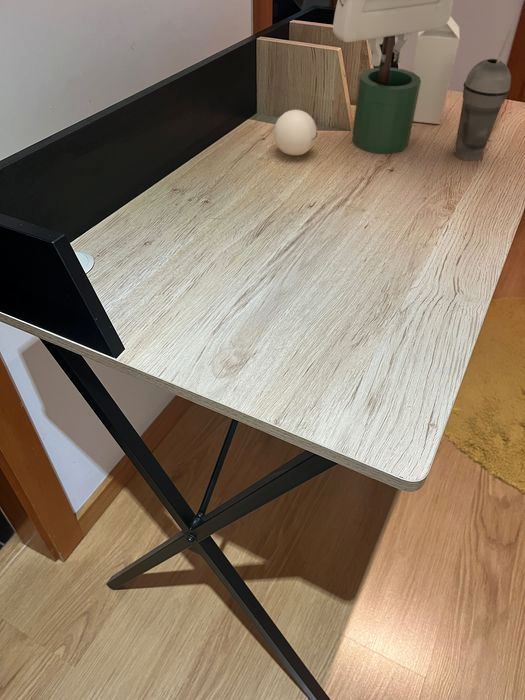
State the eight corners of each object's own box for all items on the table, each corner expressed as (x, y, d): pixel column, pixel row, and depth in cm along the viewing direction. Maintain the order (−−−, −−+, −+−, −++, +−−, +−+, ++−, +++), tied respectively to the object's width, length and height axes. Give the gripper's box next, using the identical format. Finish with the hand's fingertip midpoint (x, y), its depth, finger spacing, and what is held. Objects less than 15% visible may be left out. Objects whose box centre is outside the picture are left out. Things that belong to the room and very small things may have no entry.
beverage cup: (453, 142, 103) (484, 18, 89) (493, 151, 101) (532, 26, 87) (441, 158, 99) (472, 31, 85) (483, 168, 96) (522, 39, 82)
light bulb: (309, 166, 96) (312, 123, 91) (267, 159, 98) (268, 116, 93) (324, 141, 103) (327, 100, 98) (284, 135, 105) (286, 94, 99)
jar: (404, 130, 107) (416, 68, 99) (410, 155, 100) (424, 90, 92) (351, 128, 107) (358, 66, 99) (353, 152, 100) (362, 88, 92)
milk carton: (440, 110, 113) (465, 1, 100) (439, 125, 108) (466, 13, 95) (403, 106, 114) (424, -2, 101) (401, 121, 110) (422, 9, 96)
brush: (386, 119, 103) (406, -1, 89) (388, 129, 100) (409, 6, 86) (363, 118, 103) (381, -2, 89) (365, 128, 100) (383, 5, 86)
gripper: (353, -25, 79) (342, 79, 89) (468, -37, 86) (446, 61, 95) (330, -35, 83) (321, 66, 93) (442, -46, 89) (423, 49, 99)
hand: (385, 63), depth 94 cm, fingers closed on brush, 2 cm apart
